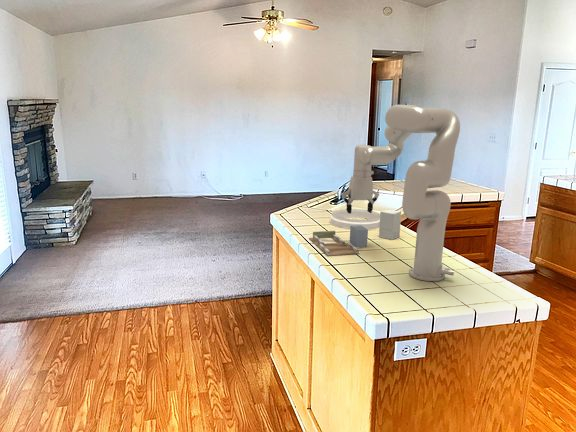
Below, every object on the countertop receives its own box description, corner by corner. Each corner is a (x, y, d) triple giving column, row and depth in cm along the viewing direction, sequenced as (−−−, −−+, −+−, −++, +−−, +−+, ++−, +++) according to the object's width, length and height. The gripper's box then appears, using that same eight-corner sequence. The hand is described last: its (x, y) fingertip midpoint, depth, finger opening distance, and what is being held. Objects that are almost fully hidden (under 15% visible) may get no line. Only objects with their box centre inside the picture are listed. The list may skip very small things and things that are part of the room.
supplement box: (399, 237, 217) (402, 211, 214) (391, 240, 211) (393, 213, 208) (386, 234, 221) (388, 208, 219) (378, 237, 216) (379, 211, 213)
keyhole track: (359, 254, 190) (359, 246, 189) (327, 256, 186) (327, 248, 186) (337, 237, 214) (337, 230, 213) (308, 238, 211) (309, 231, 210)
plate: (392, 226, 238) (393, 216, 237) (354, 233, 223) (354, 222, 222) (357, 215, 260) (357, 206, 258) (320, 221, 245) (320, 211, 243)
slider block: (366, 247, 200) (368, 229, 198) (356, 247, 199) (357, 230, 197) (359, 242, 208) (360, 225, 206) (349, 242, 206) (350, 225, 205)
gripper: (376, 172, 202) (373, 209, 206) (340, 172, 197) (337, 211, 202) (384, 175, 195) (381, 213, 199) (346, 175, 190) (344, 215, 195)
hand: (359, 212), depth 200 cm, fingers open, 9 cm apart
